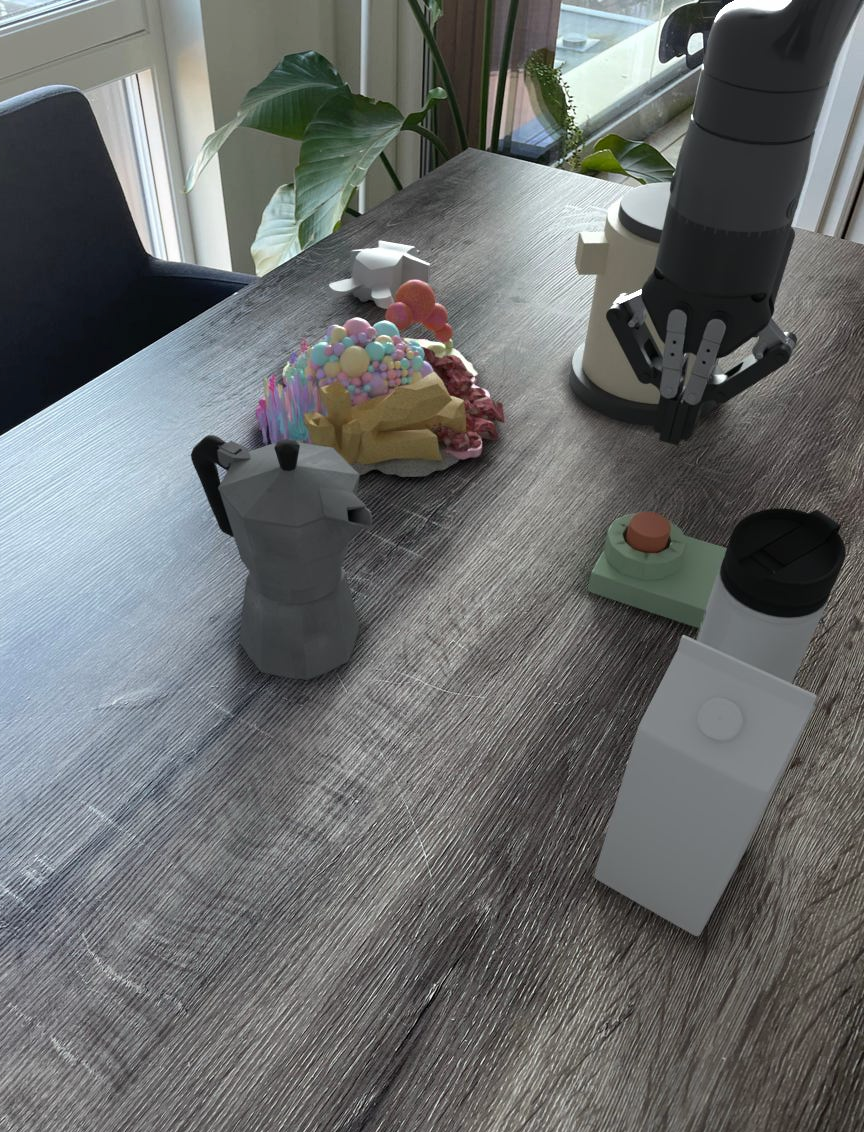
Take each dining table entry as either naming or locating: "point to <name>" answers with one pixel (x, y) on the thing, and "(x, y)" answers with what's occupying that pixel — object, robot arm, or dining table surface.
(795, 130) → the robot arm
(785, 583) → the travel mug
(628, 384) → the kettle
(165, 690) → the dining table surface
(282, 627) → the coffeepot
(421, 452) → the pastel sphere sculpture
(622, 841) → the milk carton
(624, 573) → the button base
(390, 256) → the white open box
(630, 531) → the red button cap
